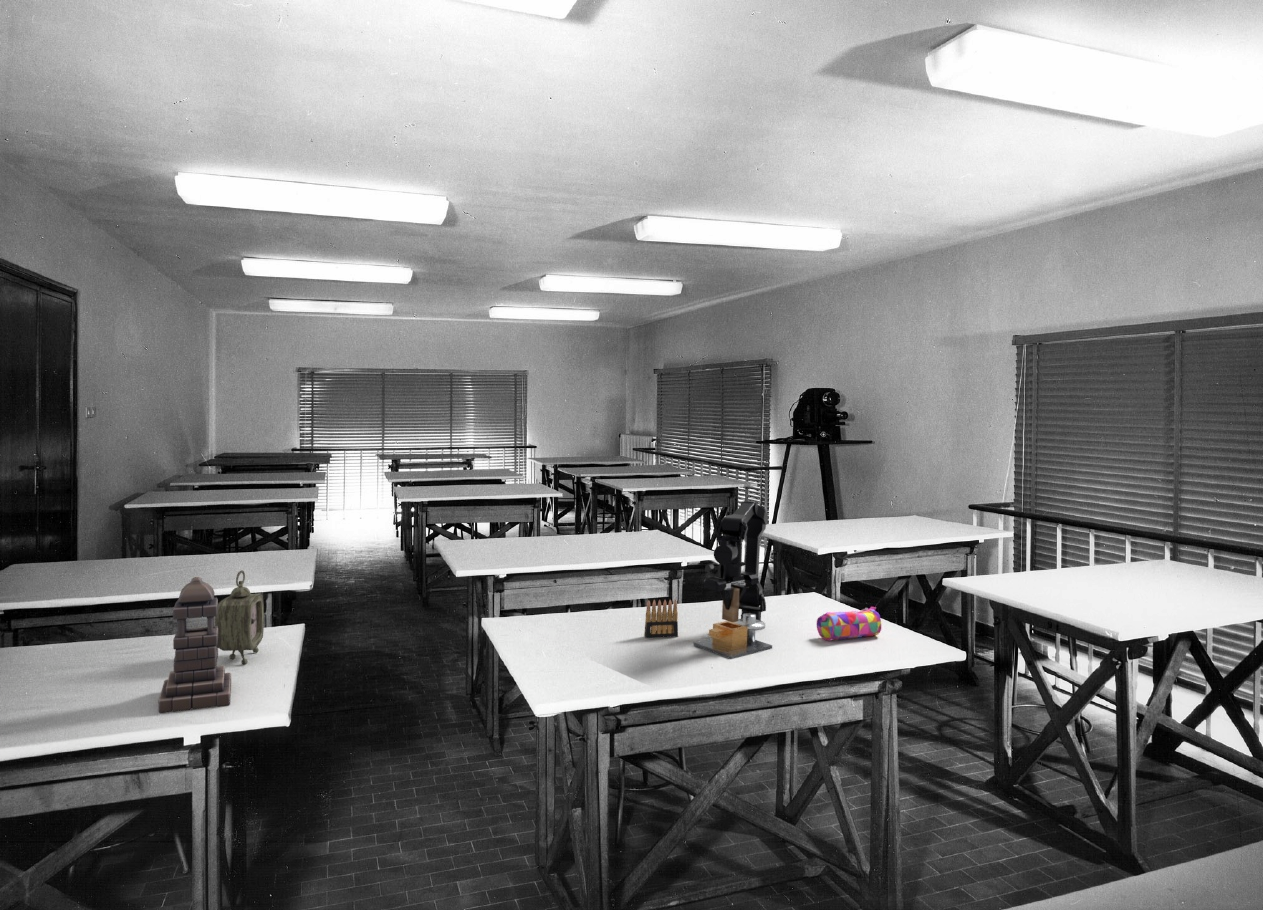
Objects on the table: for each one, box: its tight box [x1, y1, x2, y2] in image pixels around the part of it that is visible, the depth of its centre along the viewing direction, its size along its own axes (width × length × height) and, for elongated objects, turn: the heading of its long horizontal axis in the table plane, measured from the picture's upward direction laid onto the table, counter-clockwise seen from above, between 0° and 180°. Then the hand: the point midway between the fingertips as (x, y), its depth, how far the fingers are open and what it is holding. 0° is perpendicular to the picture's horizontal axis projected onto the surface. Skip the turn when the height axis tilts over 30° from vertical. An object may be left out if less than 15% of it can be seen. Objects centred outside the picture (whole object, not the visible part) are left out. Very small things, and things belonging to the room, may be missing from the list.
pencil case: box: [816, 606, 882, 642], centre depth 267 cm, size 22×9×9 cm, turn 118°
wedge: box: [721, 587, 740, 622], centre depth 252 cm, size 2×4×10 cm, turn 39°
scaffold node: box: [693, 613, 773, 660], centre depth 254 cm, size 21×16×9 cm
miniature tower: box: [158, 576, 232, 714], centre depth 199 cm, size 16×15×30 cm
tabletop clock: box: [214, 570, 265, 666], centre depth 230 cm, size 14×9×25 cm, turn 9°
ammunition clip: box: [643, 598, 679, 639], centre depth 262 cm, size 11×2×12 cm, turn 102°
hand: (730, 608), depth 252 cm, fingers closed on wedge, 2 cm apart
